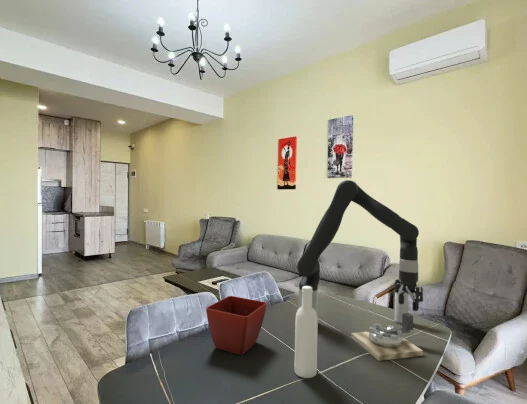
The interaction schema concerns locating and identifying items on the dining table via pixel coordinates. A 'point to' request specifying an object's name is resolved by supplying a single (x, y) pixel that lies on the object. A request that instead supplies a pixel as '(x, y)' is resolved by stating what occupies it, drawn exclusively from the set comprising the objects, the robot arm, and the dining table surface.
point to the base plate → (383, 352)
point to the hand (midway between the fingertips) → (408, 307)
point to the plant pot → (235, 323)
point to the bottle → (306, 337)
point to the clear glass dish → (390, 333)
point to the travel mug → (400, 308)
